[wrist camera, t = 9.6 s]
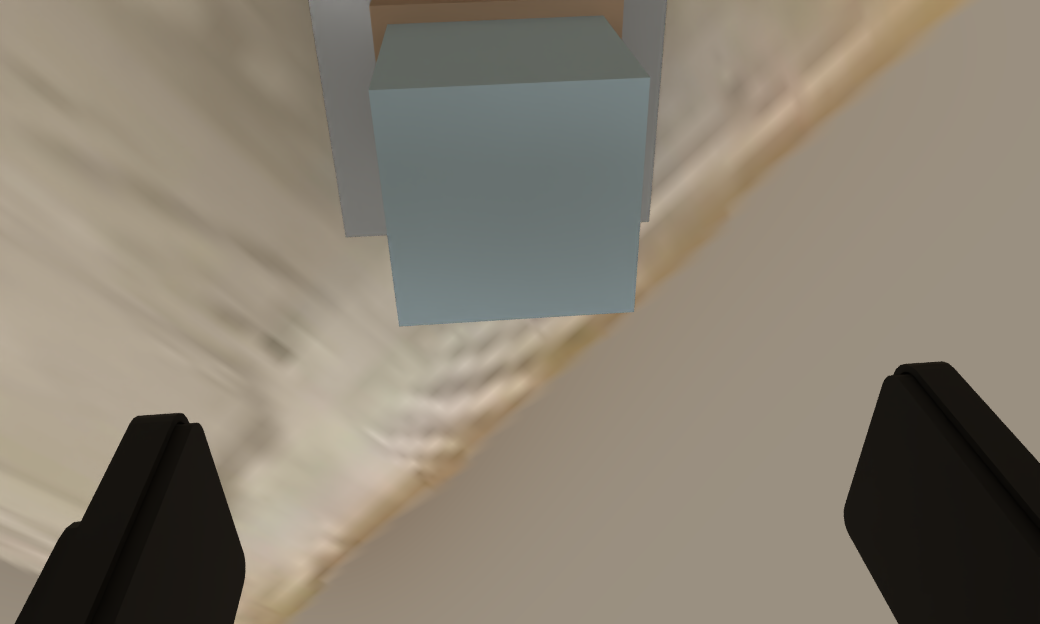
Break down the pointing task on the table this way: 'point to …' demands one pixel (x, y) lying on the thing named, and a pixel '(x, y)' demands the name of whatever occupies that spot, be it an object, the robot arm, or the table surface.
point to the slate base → (345, 89)
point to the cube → (510, 167)
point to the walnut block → (485, 12)
